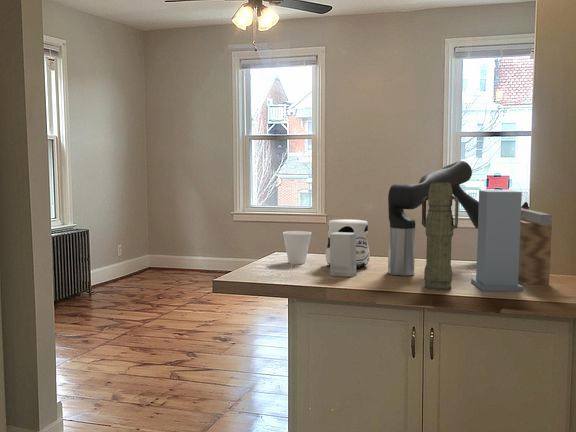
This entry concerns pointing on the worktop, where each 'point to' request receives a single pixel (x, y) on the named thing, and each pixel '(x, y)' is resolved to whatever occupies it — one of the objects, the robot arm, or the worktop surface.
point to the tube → (536, 217)
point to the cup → (297, 245)
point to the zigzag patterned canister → (534, 253)
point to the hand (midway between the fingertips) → (515, 204)
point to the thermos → (439, 235)
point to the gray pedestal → (498, 241)
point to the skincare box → (343, 254)
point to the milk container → (361, 238)
